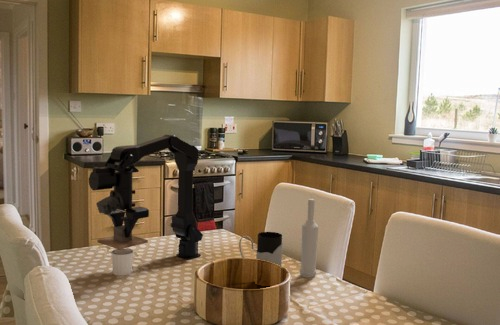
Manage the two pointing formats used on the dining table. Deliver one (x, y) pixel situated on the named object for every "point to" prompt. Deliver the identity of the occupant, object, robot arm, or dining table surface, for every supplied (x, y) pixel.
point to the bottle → (309, 243)
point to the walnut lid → (121, 239)
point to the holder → (267, 247)
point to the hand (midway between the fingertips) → (122, 236)
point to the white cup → (122, 261)
